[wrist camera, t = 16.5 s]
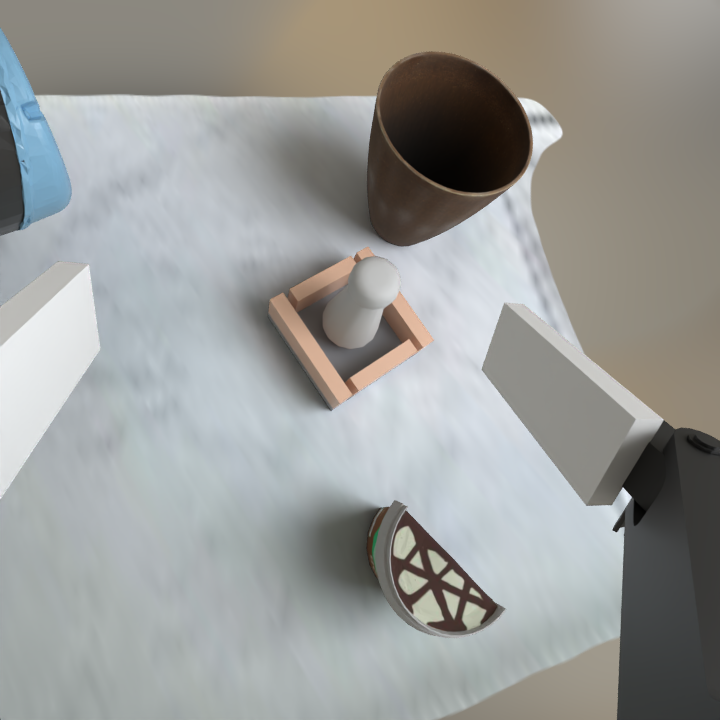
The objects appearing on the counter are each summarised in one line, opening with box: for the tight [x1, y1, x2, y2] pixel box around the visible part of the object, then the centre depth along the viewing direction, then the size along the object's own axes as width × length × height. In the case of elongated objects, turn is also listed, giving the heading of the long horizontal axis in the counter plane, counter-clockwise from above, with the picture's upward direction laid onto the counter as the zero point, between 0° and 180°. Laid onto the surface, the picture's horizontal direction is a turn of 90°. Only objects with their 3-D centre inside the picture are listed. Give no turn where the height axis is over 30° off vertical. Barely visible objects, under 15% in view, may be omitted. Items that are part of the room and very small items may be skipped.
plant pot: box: [367, 52, 533, 246], centre depth 47 cm, size 15×15×16 cm
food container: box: [366, 500, 506, 638], centre depth 39 cm, size 12×6×10 cm, turn 46°
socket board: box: [268, 247, 434, 411], centre depth 46 cm, size 12×12×5 cm
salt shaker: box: [323, 256, 401, 349], centre depth 41 cm, size 6×6×13 cm
